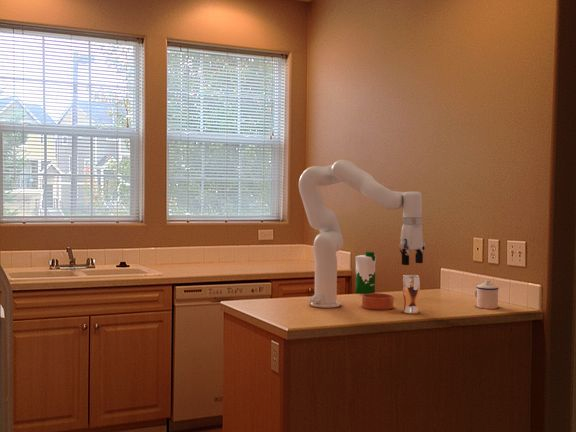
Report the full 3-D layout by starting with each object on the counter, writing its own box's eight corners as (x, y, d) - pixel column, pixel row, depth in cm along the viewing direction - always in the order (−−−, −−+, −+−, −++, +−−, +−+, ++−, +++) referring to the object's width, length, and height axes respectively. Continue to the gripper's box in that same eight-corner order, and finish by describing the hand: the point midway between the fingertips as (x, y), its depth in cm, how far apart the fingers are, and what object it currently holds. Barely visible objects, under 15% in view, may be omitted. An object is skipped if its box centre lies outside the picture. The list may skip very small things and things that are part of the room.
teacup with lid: (502, 308, 280) (503, 281, 280) (486, 309, 276) (487, 282, 276) (482, 303, 291) (483, 277, 290) (466, 305, 287) (467, 278, 286)
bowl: (380, 311, 270) (380, 299, 270) (355, 307, 279) (355, 295, 279) (399, 307, 279) (399, 296, 279) (374, 303, 288) (374, 292, 288)
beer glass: (415, 314, 264) (416, 277, 263) (399, 312, 267) (399, 276, 267) (421, 312, 270) (422, 275, 269) (405, 310, 273) (406, 274, 273)
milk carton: (370, 295, 312) (370, 253, 311) (352, 293, 317) (353, 251, 316) (377, 292, 320) (378, 251, 319) (360, 291, 324) (360, 250, 323)
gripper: (416, 221, 276) (416, 261, 277) (392, 222, 264) (392, 265, 264) (432, 221, 271) (432, 263, 271) (407, 222, 258) (407, 266, 259)
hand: (412, 264), depth 268 cm, fingers open, 9 cm apart
